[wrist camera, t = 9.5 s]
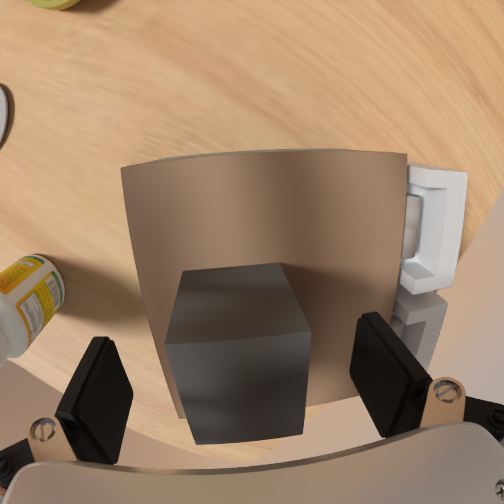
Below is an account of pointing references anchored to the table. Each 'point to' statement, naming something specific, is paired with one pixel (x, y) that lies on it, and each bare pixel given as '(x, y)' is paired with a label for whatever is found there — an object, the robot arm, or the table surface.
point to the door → (266, 277)
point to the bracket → (3, 113)
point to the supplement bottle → (27, 303)
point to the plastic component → (54, 4)
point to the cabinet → (423, 252)
